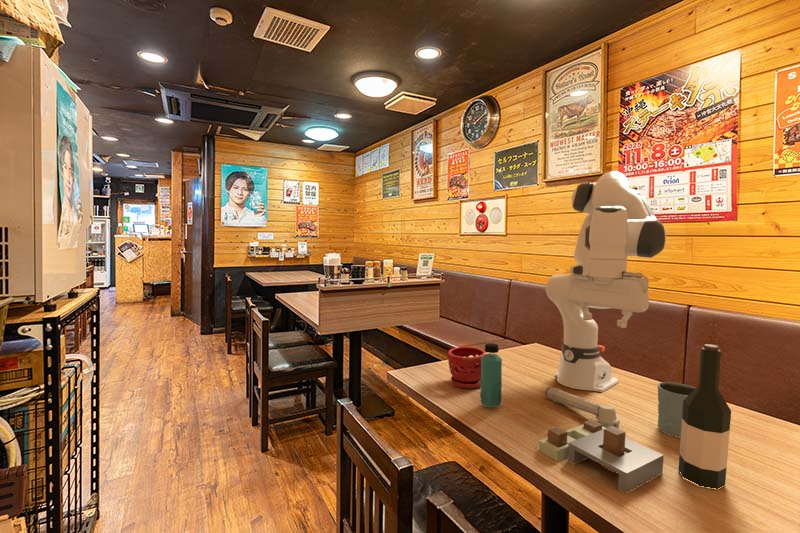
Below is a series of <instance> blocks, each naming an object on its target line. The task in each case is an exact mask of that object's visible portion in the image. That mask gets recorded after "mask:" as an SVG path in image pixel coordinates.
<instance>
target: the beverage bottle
mask: <svg viewBox="0 0 800 533" xmlns="http://www.w3.org/2000/svg"><path fill="white" fill-rule="evenodd" d="M484 351H485V355H484V356H482V358H481V379H480V382H481V386H480V397H479V399H480V404H481V405H483V406H485V407H488V408H498V407H500V406H501V405H502V399H503V398H502V384H503V377H502V376H503V374H502V373H503V371H502V370H503V369H502V368H503V367H502V365H503V364H502V362H503V360H502V359H503V358H502V357H501V356H500V355H499V354H498V353H499V345H498V344H497V343H492V342H491V343H490V342H489V343H485V345H484Z"/></svg>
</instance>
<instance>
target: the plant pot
mask: <svg viewBox="0 0 800 533" xmlns="http://www.w3.org/2000/svg"><path fill="white" fill-rule="evenodd" d="M485 354H486V351H485V349H484V350H483V349H481V348H480V347H479V348H478V347H474V346H458V347H457V346H456V347H453V348H451V349H449V350H448V352H447V357H448V358H447V360H448V362H447V363H448V366H449V371H450V374H451V377H450V380H451V382H452V384H453V385H454V386H455V387H458V388H463V389H469V390H470V389H475V388H480V387H481V382H480V379H481V358H482V356H484V355H485ZM464 355H465V356H464Z"/></svg>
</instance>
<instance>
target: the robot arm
mask: <svg viewBox="0 0 800 533" xmlns="http://www.w3.org/2000/svg"><path fill="white" fill-rule="evenodd" d="M571 204H572V209H573V210H575V211H577V212H579V213H584V214H587V215H586V217H585V218H584V220H583V222H582V225H581V226H580V228H579V229H580V231H579V232H578V236H577V240H576V245H575V249H574V254H573V258H574V261H575V262H576V264H577V265H573V266H570V268H569V273H563V274H555V275H552V276H551V277H549V278H548V280H547V282H546V283H545V284H546V285H545V293H546V296H547V298H548V299H549V300H550V301H551V302H552V303H553V304H554V305H555V306H556V307H557V309H558V311H559V312H560V315H561V318H562V323H563V324H562V325H563V342H562V343H561V353H562V354H561V355H560V357H559V360H558V361H559V362H558V368H557V372H555V377H556V381H557V382H558V383H559V384H560V385H562V386H564V387H567V388H570V389H574V390H575V389H576V390H580V391H581V390H582V391H593V392H600V393H601V392H602V393H604V392H605V391H607V390H608V389H610V388H612V387H613V386H615V385H616V384H619V381H620V380H619V379H618V378H617V377H615V376H613V375H612V366H611V365H610V363H609V362H608V361H606V360H605V359H604V358H603V357H602V356H601V353H600V352H602V353H603V352H605V349H606V347H605V346H604V345H601V344H598V341H599V338H598V335H599V326H598V323H597V322H596V321H595V319H593V313H592V312H590V310H589V308H592V309H599V310H601V309H602V310H605V309H617V310H621V315H623V316H622V317H621V319H617V320H616V323H617V324H616V327H617V328H621V329H625V328H627V327H628V326H627V325H628V320H630V318H631V317H632V316H633V313H644V312H646V311H647V310H648V309H649V307H650V304H649V303H650V301H649V300H650V299H649V298H650V297H649V290H648V289H649V282H650V281H649V279H648V277H647V276H645V275H644V274H643V273H641V272H632V271H627V269H628V257H639V258H640V257H641V258H650V259H651V258H654V257H655V256H657V255H658V254H660V253H661V252H662V251H663V250H664V248H665V245H666V242H667V241H666V240H667V234H666V229H665V227H664V225H663V223H662V222H661V221H660V220H658V218H657V217H656V215H655V213H654V211H653V210H652V208H651V206H650V204H649V203H648V201H647V199H646V198H645V197H644V196H642V195H641V192H640V191H638V190H636V189H633V188H631V184H630V182H629V180H628V178H627V177H626V175H625V174H623V173H622V172H619V171H617V170H616V171H615V170H614V171H613V170H612V171H608V172H605V173H603V174H602V175H601V176H600V177H598V179H597V181H596V183H594V182H592V181H588V182H583V183H582V182H581V183H580V184H578V185H577V187H576V188H575V189H574V190H573V192H572V195H571Z"/></svg>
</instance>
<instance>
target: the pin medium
mask: <svg viewBox="0 0 800 533" xmlns="http://www.w3.org/2000/svg"><path fill="white" fill-rule="evenodd" d="M567 433H568V432H567V430H565V429H563V428H561V427H559V426H554V427H553V426H552V427H550V428H548V429H547V437H548V439H547V441H548V442H549V443H551V444H553V445H555V446H557V447H558V448H559V447H561V446H564V445H566V444H567Z"/></svg>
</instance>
